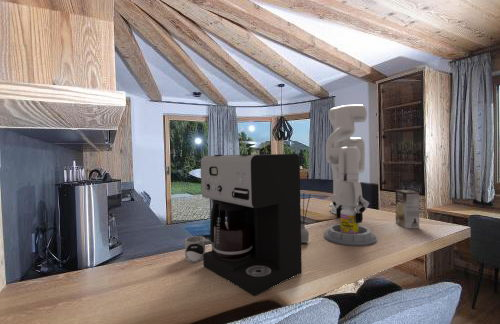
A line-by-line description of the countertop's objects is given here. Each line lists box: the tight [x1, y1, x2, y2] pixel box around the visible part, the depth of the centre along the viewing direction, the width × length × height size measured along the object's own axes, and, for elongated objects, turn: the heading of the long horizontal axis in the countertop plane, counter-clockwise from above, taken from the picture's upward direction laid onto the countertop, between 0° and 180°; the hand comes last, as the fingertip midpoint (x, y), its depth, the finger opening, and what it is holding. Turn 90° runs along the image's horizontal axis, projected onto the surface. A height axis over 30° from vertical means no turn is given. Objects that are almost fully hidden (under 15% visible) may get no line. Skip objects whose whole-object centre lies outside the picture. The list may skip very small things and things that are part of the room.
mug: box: [184, 235, 214, 263], centre depth 91 cm, size 10×7×7 cm
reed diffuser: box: [301, 194, 311, 244], centre depth 103 cm, size 10×7×20 cm
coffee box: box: [395, 189, 420, 229], centre depth 123 cm, size 9×6×16 cm
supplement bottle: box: [340, 206, 359, 234], centre depth 108 cm, size 7×7×13 cm
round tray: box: [323, 223, 378, 247], centre depth 108 cm, size 20×20×4 cm
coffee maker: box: [200, 153, 303, 297], centre depth 81 cm, size 28×20×35 cm
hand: (349, 220), depth 108 cm, fingers open, 8 cm apart
